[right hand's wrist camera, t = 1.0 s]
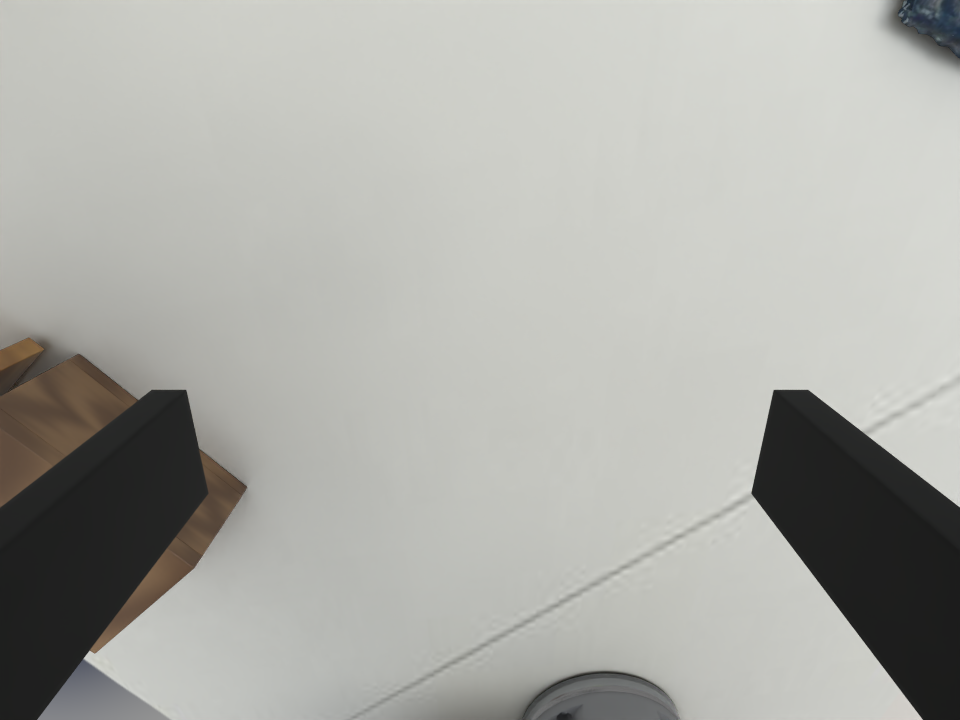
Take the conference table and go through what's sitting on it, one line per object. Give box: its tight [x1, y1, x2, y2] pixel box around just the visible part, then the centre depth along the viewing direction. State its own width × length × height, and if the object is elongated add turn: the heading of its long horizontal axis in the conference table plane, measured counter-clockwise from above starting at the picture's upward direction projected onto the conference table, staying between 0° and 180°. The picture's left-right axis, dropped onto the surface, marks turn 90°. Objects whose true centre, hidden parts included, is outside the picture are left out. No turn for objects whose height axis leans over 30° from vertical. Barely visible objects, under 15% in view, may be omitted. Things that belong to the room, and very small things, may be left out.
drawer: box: [0, 338, 44, 396], centre depth 37 cm, size 19×10×7 cm, turn 42°
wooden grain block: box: [0, 354, 247, 653], centre depth 39 cm, size 15×11×9 cm
